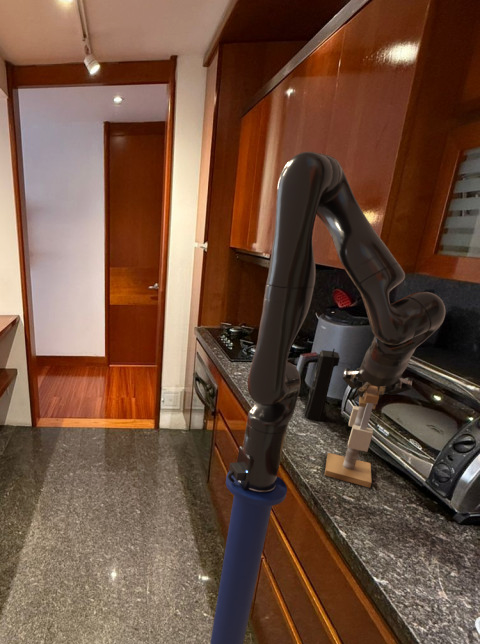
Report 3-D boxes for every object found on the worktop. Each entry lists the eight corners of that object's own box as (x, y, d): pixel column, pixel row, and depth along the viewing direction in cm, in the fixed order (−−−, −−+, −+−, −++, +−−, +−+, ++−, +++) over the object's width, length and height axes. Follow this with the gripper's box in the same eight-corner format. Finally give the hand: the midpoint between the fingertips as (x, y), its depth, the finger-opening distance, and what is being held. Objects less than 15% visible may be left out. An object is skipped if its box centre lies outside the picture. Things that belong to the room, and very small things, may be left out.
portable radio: (303, 409, 138) (318, 341, 128) (323, 412, 135) (339, 343, 126) (304, 418, 131) (319, 348, 122) (324, 422, 129) (341, 350, 119)
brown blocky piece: (347, 447, 94) (362, 395, 89) (348, 422, 106) (361, 375, 100) (367, 452, 92) (383, 399, 87) (366, 426, 104) (380, 378, 98)
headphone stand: (324, 475, 102) (343, 403, 94) (326, 457, 109) (344, 389, 101) (370, 487, 97) (394, 413, 89) (369, 468, 104) (391, 397, 96)
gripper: (428, 352, 80) (404, 387, 94) (349, 342, 87) (338, 376, 101) (423, 384, 78) (400, 415, 92) (343, 371, 84) (333, 402, 99)
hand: (368, 394), depth 96 cm, fingers closed on brown blocky piece, 2 cm apart
